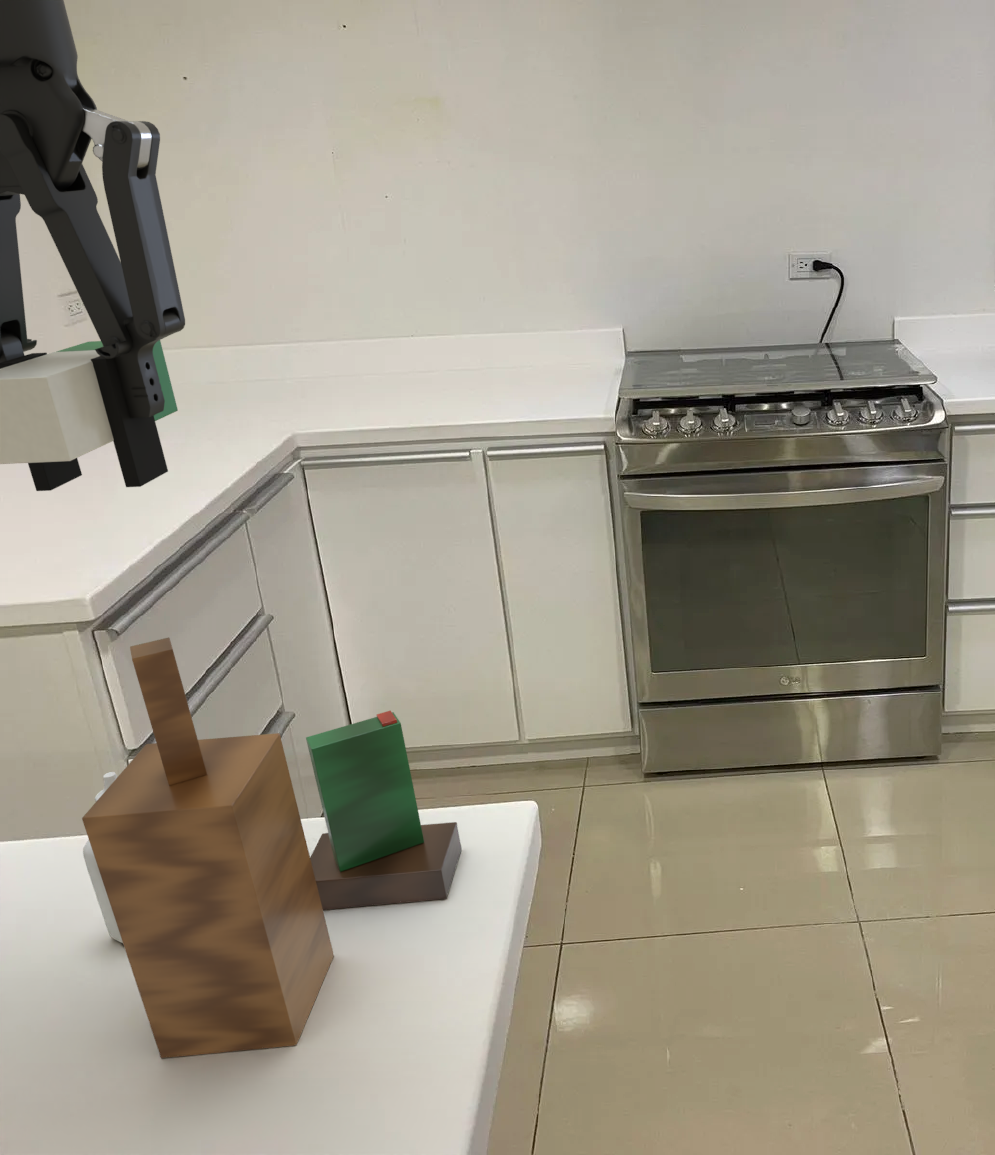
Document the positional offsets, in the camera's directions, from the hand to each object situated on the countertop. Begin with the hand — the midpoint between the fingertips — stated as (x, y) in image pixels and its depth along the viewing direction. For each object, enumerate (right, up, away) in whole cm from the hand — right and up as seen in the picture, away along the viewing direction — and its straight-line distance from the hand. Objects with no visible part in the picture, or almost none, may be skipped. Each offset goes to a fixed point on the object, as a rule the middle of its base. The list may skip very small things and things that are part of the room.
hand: (103, 480), depth 58 cm
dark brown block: (+6, -27, +24) cm, 37 cm away
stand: (+2, -32, +13) cm, 35 cm away
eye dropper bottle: (-9, -30, +21) cm, 37 cm away
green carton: (+6, -25, +23) cm, 35 cm away
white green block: (0, +2, -1) cm, 2 cm away
